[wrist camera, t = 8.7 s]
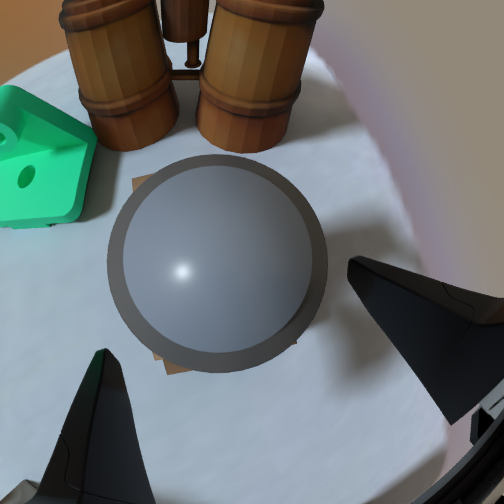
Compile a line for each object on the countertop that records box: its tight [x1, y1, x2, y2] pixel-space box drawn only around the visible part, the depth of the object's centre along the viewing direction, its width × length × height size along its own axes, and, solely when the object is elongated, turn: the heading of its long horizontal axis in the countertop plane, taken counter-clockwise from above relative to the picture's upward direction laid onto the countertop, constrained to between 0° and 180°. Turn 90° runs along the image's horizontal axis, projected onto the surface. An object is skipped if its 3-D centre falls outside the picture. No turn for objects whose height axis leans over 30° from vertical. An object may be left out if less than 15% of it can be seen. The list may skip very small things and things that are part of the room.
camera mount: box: [0, 85, 98, 229], centre depth 13 cm, size 12×8×10 cm, turn 92°
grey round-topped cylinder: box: [107, 154, 328, 373], centre depth 12 cm, size 5×5×13 cm
